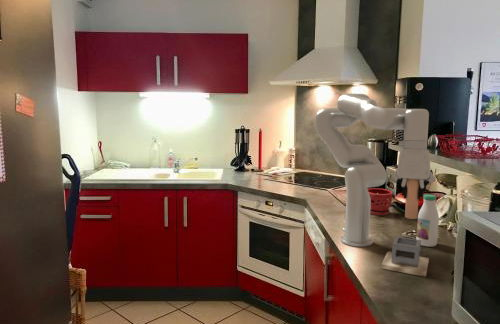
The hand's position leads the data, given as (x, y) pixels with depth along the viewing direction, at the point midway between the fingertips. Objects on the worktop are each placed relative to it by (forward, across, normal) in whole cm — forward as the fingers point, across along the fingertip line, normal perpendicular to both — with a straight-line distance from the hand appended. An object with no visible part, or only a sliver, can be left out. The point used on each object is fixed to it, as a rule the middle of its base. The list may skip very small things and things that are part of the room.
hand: (412, 197), depth 139 cm
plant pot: (+23, -19, +64) cm, 71 cm away
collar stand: (+24, -1, -2) cm, 24 cm away
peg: (+7, 0, 0) cm, 7 cm away
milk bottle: (+24, +5, +25) cm, 35 cm away
